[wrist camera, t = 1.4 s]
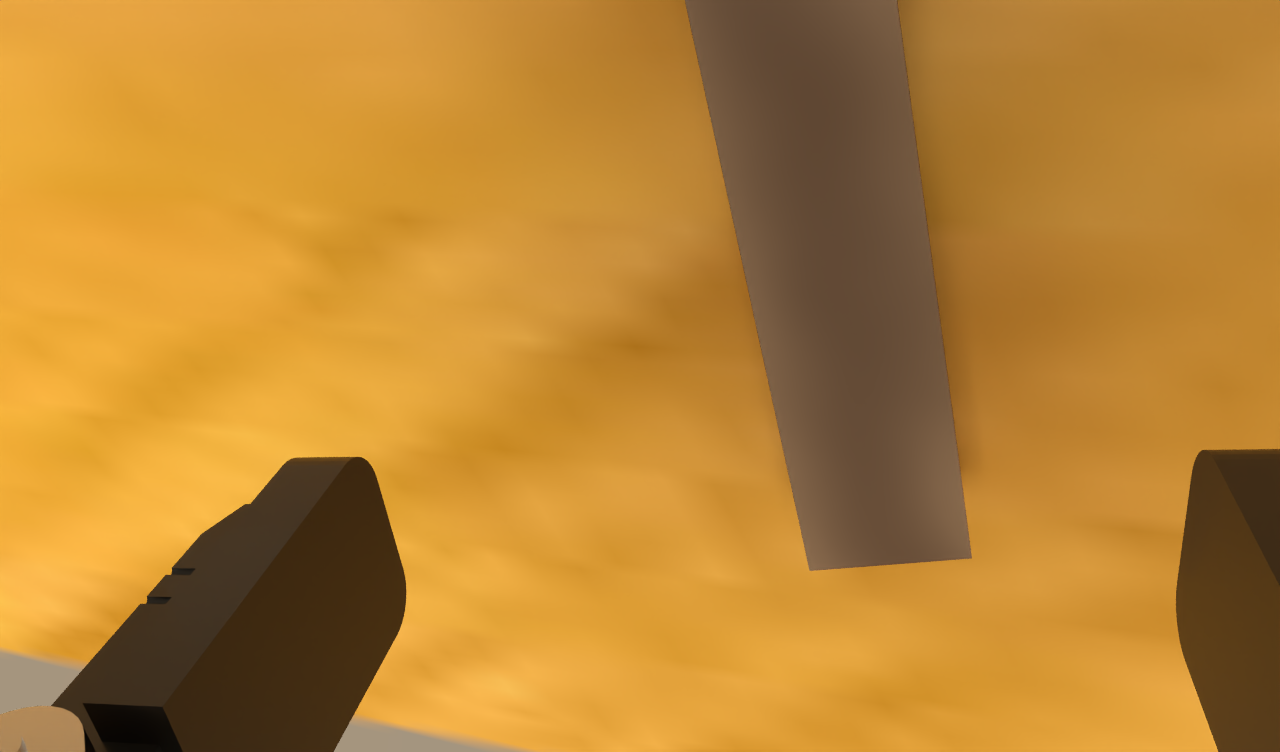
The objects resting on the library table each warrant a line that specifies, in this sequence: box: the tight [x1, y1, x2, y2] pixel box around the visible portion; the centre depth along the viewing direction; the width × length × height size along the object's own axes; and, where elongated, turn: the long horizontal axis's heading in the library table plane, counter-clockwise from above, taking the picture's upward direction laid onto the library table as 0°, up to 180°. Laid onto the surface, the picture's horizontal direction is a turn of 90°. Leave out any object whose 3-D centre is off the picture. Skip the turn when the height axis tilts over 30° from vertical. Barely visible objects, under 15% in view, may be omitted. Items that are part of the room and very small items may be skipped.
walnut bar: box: [685, 0, 972, 571], centre depth 24 cm, size 4×22×4 cm, turn 14°
